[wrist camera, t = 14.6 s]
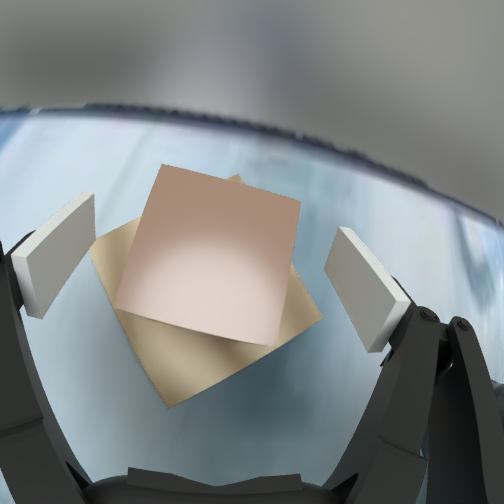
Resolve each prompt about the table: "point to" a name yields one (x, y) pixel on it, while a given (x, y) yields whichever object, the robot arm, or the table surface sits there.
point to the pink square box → (211, 257)
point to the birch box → (184, 341)
